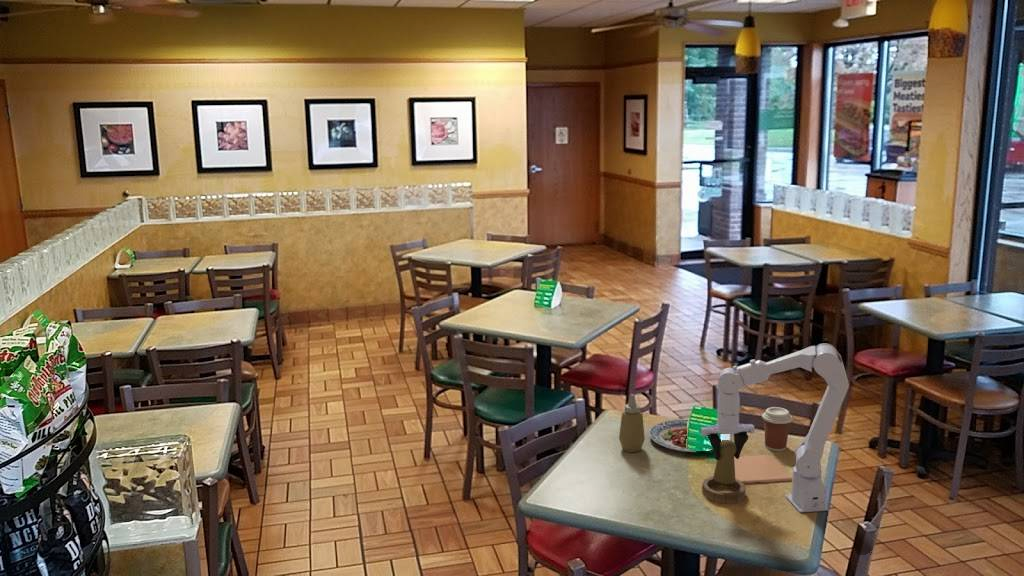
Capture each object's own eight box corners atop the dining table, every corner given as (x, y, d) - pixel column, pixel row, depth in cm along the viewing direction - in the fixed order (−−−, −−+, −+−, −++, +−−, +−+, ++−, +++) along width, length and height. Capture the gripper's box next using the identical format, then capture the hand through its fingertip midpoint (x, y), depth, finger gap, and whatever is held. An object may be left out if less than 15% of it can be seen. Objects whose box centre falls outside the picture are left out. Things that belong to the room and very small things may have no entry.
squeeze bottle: (613, 446, 261) (614, 393, 257) (635, 441, 265) (636, 388, 261) (627, 456, 254) (628, 401, 250) (649, 451, 257) (650, 396, 253)
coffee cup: (755, 441, 263) (757, 406, 260) (783, 440, 264) (785, 404, 261) (767, 453, 254) (769, 417, 251) (795, 451, 255) (798, 415, 252)
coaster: (791, 480, 236) (791, 477, 236) (737, 483, 234) (737, 481, 234) (769, 457, 251) (769, 454, 251) (718, 460, 250) (718, 457, 250)
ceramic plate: (740, 434, 270) (740, 425, 269) (716, 464, 248) (717, 455, 247) (665, 420, 282) (665, 412, 282) (636, 447, 261) (637, 438, 260)
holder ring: (751, 501, 224) (751, 493, 223) (710, 504, 223) (710, 496, 222) (735, 482, 235) (736, 474, 235) (697, 485, 234) (697, 477, 233)
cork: (733, 474, 231) (736, 438, 229) (737, 484, 226) (740, 446, 223) (711, 473, 232) (714, 437, 229) (715, 483, 226) (718, 445, 223)
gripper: (748, 405, 229) (746, 450, 232) (697, 408, 227) (696, 453, 230) (758, 414, 222) (756, 461, 225) (706, 417, 221) (704, 464, 224)
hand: (726, 458), depth 227 cm, fingers closed on cork, 5 cm apart
